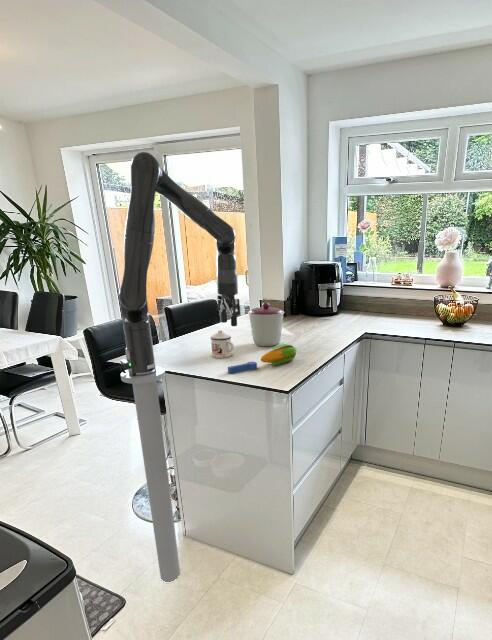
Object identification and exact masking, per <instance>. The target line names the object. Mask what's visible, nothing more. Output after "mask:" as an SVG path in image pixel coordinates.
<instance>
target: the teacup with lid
mask: <svg viewBox="0 0 492 640" xmlns="http://www.w3.org/2000/svg"><path fill="white" fill-rule="evenodd" d="M231 339H232V336H231V335H230V334H228V333H226V332H224V331H223V330H222V329H219V330H218V331H217V332H215V333H214V334H212V335H210V344H211V356H212V357H213V358H217V359H224V358H229V357H231V356H232V352H233V351H234V348H235V347H234V343H233V342H232V341H231Z"/></svg>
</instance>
